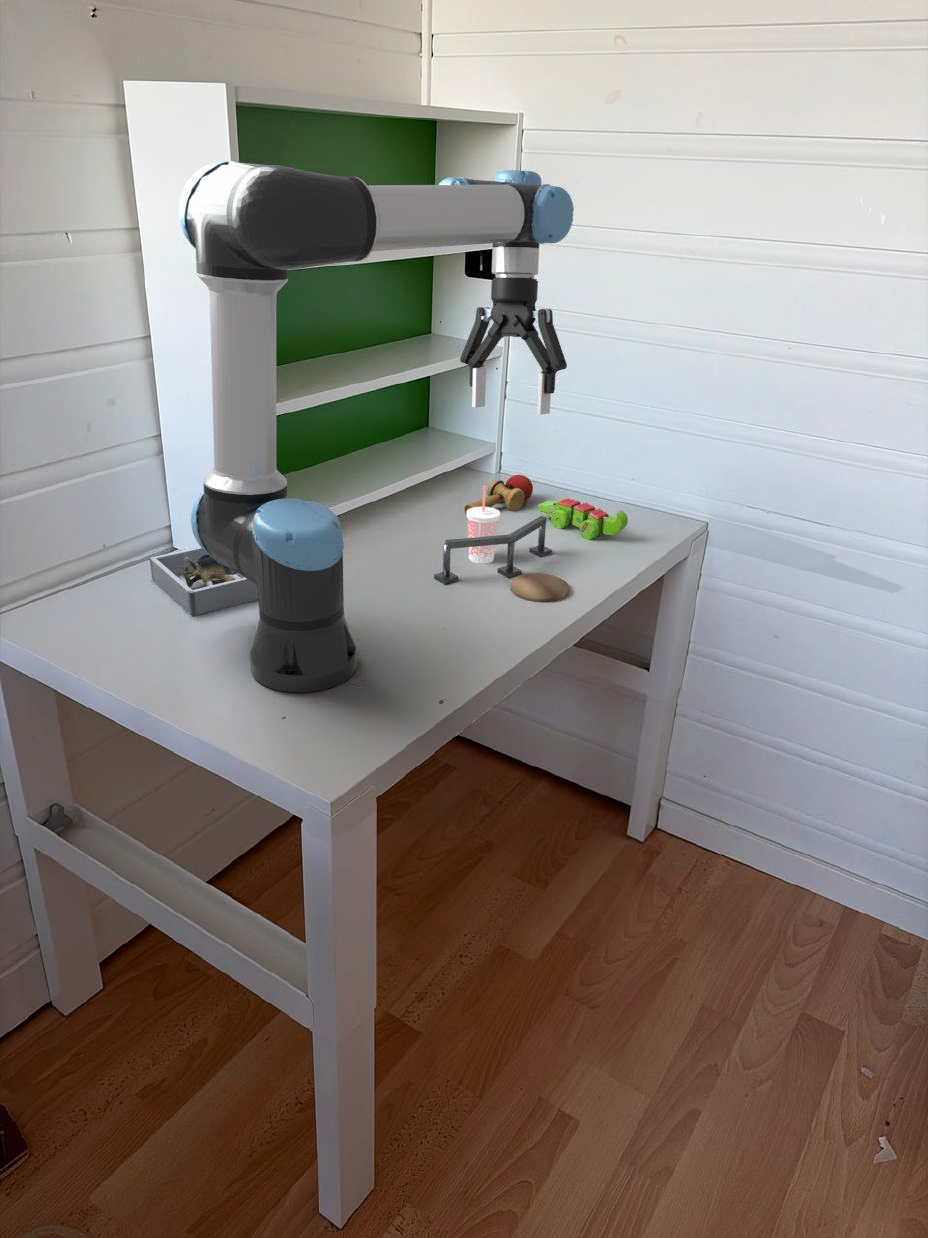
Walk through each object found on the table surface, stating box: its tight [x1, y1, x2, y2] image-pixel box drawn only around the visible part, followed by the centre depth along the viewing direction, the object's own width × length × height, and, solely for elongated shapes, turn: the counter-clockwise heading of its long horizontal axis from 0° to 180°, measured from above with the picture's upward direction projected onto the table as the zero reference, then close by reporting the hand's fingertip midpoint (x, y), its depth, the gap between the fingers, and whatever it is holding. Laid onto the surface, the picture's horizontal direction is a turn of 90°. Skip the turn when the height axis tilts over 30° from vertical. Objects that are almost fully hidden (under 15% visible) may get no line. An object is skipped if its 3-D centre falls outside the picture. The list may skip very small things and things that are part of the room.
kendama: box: [463, 474, 534, 516], centre depth 196 cm, size 8×6×18 cm
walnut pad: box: [509, 572, 570, 603], centre depth 161 cm, size 10×10×1 cm
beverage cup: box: [465, 484, 501, 564], centre depth 169 cm, size 6×6×14 cm
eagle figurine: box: [181, 555, 237, 589], centre depth 156 cm, size 8×7×9 cm
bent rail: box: [433, 515, 553, 585], centre depth 167 cm, size 25×7×7 cm, turn 128°
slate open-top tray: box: [149, 546, 258, 617], centre depth 156 cm, size 14×17×4 cm
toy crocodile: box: [537, 498, 629, 541], centre depth 186 cm, size 20×7×6 cm, turn 45°
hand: (510, 410), depth 159 cm, fingers open, 13 cm apart
